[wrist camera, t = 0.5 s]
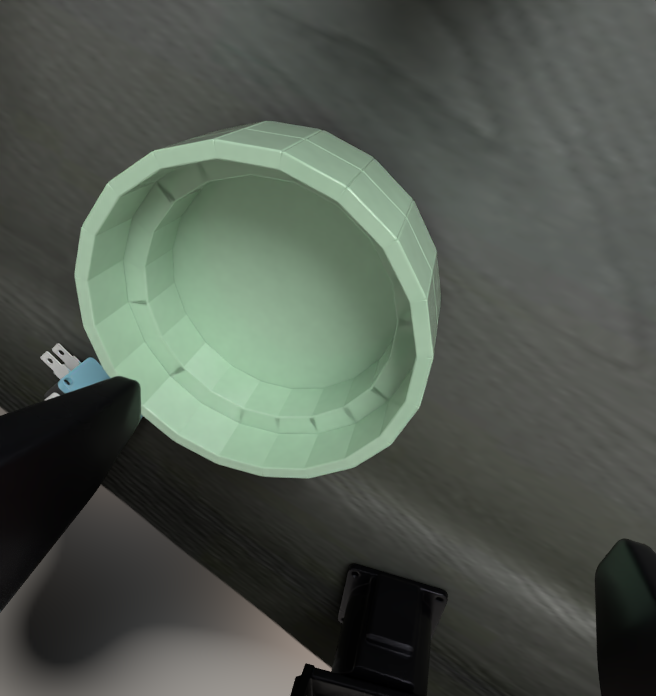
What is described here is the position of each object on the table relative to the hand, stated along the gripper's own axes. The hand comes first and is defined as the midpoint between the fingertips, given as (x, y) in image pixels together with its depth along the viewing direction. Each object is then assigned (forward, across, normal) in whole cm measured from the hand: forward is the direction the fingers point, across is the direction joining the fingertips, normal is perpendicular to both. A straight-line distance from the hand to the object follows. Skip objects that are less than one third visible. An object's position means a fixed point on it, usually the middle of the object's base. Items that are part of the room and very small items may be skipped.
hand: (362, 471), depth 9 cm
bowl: (+14, +6, +4) cm, 16 cm away
